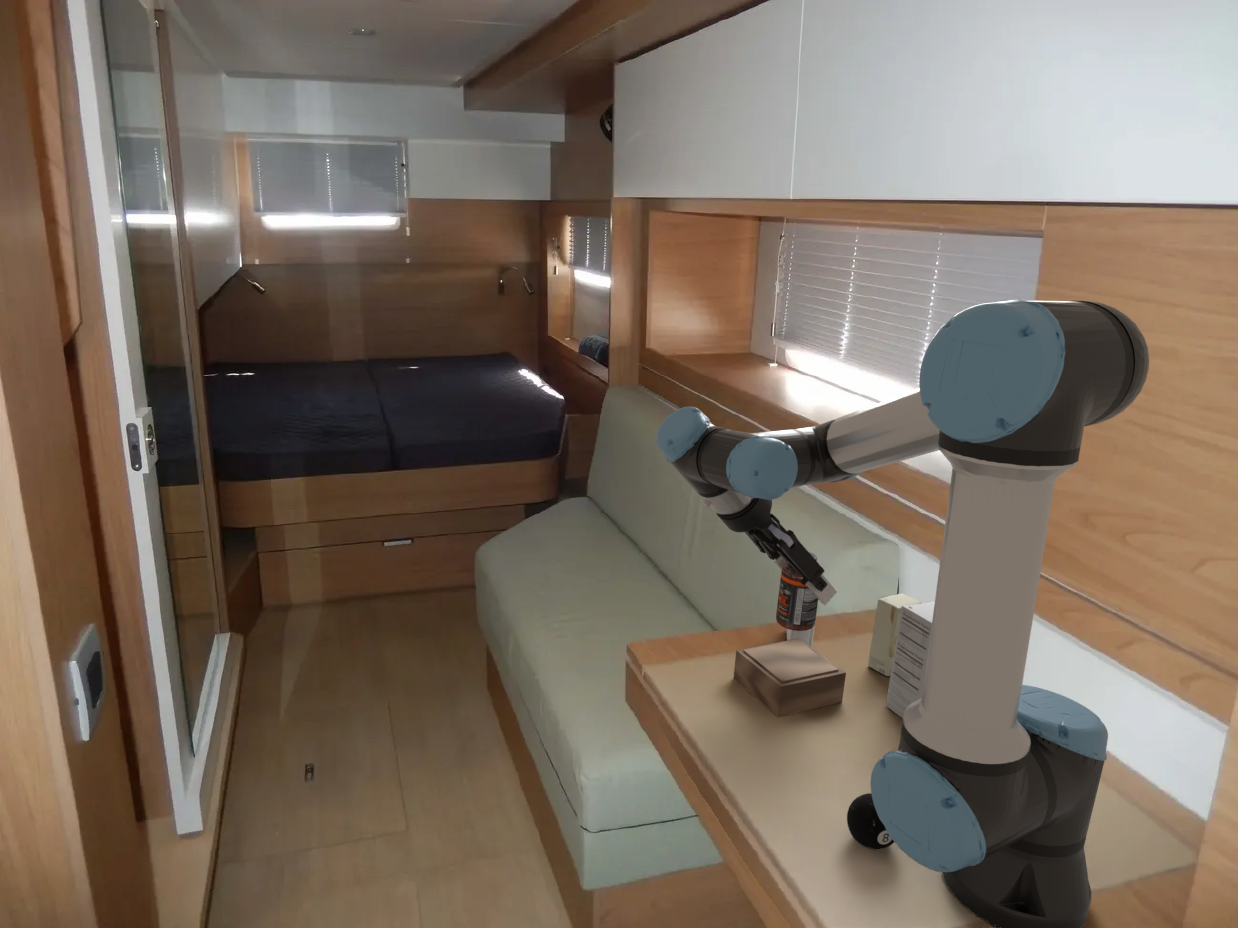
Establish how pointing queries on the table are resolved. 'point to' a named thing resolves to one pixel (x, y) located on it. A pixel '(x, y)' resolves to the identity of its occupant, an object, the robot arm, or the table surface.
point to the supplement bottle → (795, 601)
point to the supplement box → (910, 656)
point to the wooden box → (789, 676)
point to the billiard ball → (867, 824)
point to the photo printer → (801, 636)
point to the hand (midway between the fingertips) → (815, 588)
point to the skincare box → (887, 631)
